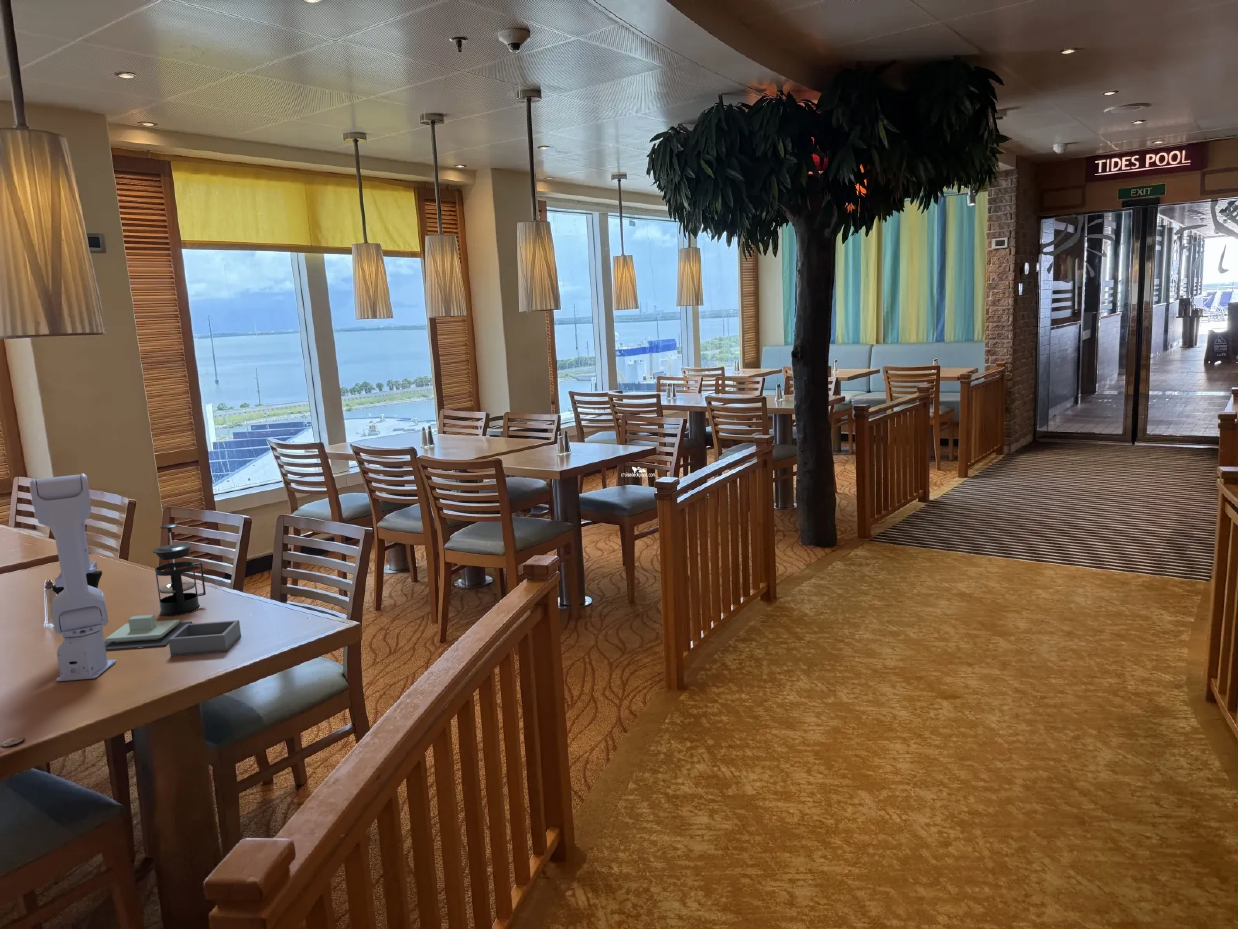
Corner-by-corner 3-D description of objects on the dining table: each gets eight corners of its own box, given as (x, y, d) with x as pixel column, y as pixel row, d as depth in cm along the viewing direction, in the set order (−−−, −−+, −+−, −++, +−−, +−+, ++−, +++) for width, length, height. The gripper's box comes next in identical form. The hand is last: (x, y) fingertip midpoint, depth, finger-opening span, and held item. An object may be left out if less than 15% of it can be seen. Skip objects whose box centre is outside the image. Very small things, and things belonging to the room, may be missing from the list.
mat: (165, 646, 198) (165, 644, 198) (92, 651, 196) (92, 650, 196) (192, 623, 214) (192, 621, 213) (125, 628, 212) (125, 626, 212)
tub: (226, 652, 192) (224, 635, 192) (170, 656, 191) (168, 639, 191) (241, 636, 202) (239, 620, 202) (188, 640, 201) (186, 624, 200)
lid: (161, 641, 200) (159, 622, 200) (106, 645, 199) (103, 626, 198) (179, 625, 210) (177, 608, 210) (127, 629, 209) (124, 611, 209)
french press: (159, 619, 218) (147, 531, 214) (155, 610, 225) (143, 525, 222) (209, 609, 224) (198, 523, 220) (204, 600, 232) (193, 518, 228)
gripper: (75, 558, 190) (84, 617, 192) (107, 542, 204) (115, 597, 206) (41, 560, 189) (51, 619, 191) (76, 544, 203) (84, 599, 205)
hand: (82, 608), depth 198 cm, fingers open, 7 cm apart
